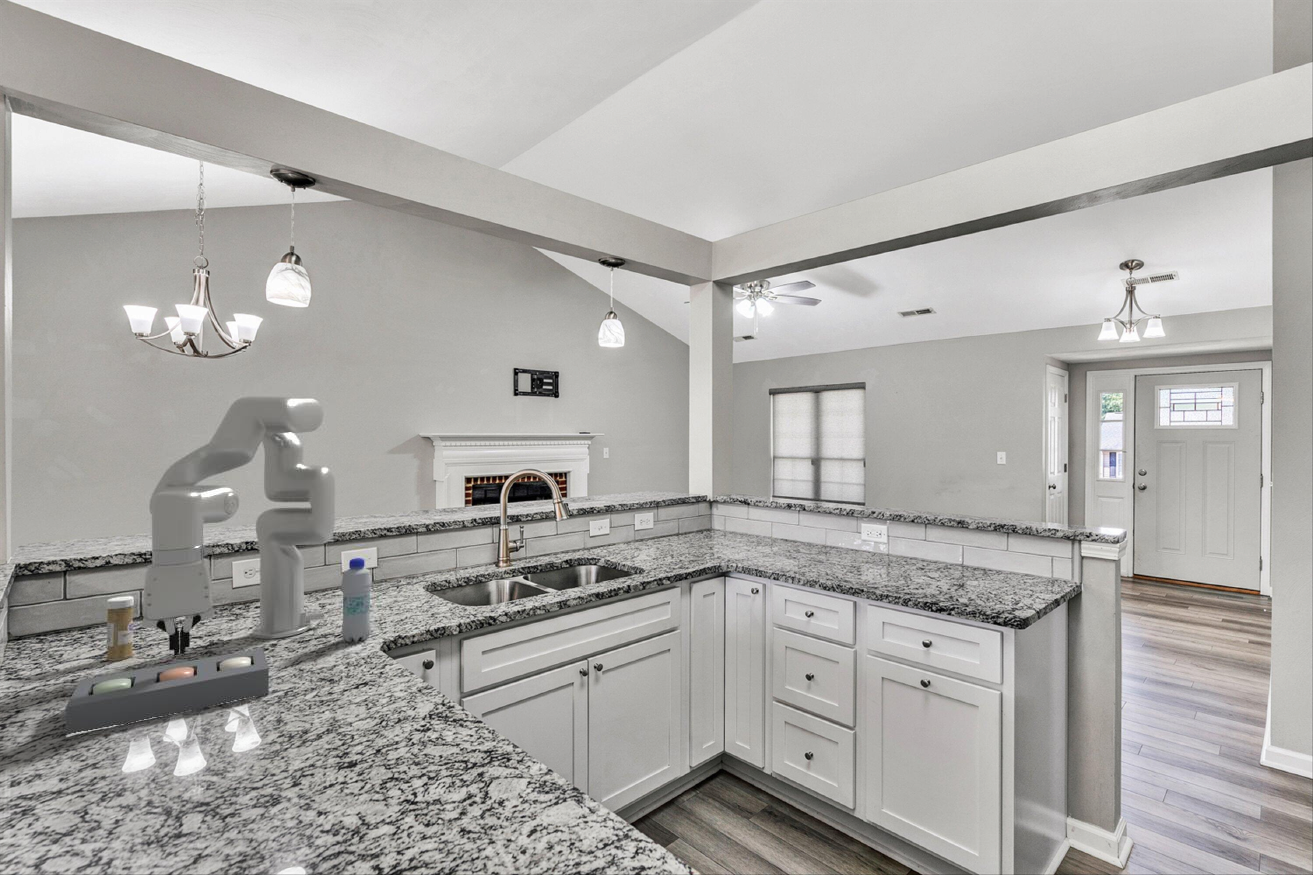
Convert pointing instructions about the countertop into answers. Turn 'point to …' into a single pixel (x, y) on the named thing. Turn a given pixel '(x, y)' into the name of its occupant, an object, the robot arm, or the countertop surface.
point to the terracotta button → (176, 673)
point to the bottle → (356, 601)
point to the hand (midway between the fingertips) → (179, 652)
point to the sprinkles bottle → (120, 628)
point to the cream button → (235, 663)
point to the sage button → (112, 685)
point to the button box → (166, 692)
